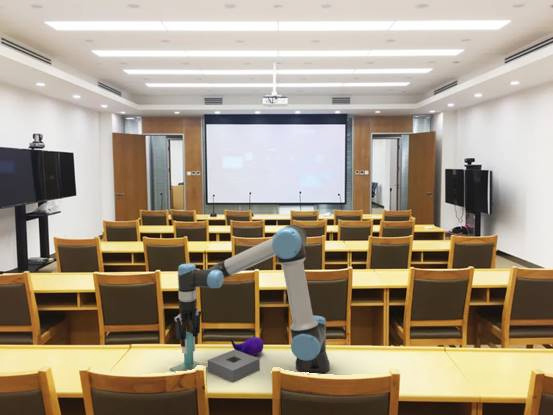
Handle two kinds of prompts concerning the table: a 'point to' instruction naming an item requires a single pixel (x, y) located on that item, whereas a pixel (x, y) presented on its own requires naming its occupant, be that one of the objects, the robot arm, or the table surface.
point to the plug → (189, 350)
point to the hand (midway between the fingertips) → (188, 351)
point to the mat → (184, 368)
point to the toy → (249, 346)
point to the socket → (233, 365)
